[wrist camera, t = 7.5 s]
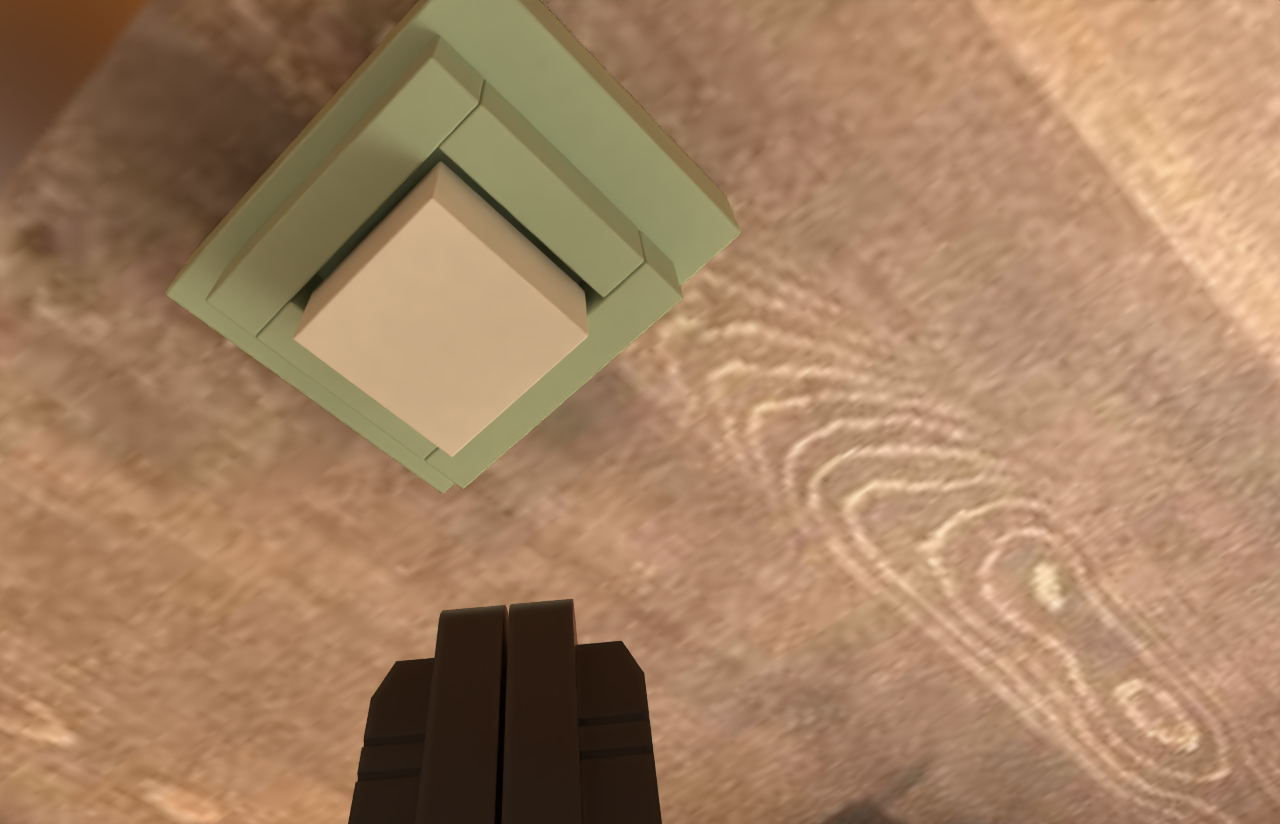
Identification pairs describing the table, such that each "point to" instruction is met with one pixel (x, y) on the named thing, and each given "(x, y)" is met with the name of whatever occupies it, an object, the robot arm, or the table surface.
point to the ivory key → (444, 312)
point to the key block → (498, 172)
